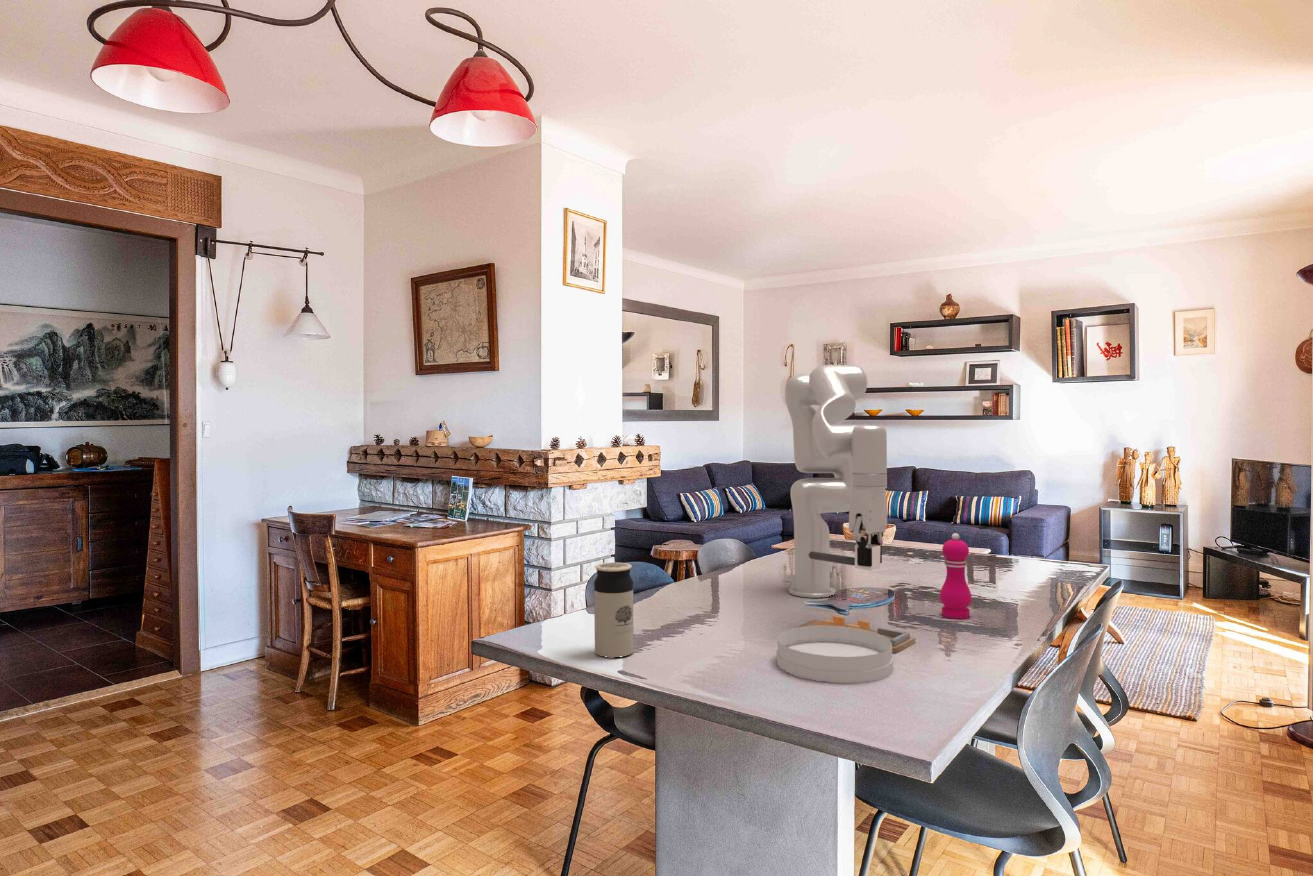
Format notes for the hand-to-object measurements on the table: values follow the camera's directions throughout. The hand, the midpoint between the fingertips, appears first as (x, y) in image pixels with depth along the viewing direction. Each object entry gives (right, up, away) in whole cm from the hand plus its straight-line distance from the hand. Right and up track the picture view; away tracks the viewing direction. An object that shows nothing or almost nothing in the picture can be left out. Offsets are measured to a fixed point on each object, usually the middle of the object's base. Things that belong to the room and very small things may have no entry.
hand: (869, 563), depth 169 cm
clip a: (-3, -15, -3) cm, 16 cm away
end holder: (+1, -15, -7) cm, 16 cm away
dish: (-13, -17, -20) cm, 29 cm away
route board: (-4, -16, -2) cm, 17 cm away
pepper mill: (+25, -15, +16) cm, 34 cm away
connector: (-5, -1, +5) cm, 7 cm away
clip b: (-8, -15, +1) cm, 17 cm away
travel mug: (-56, -17, -12) cm, 59 cm away
